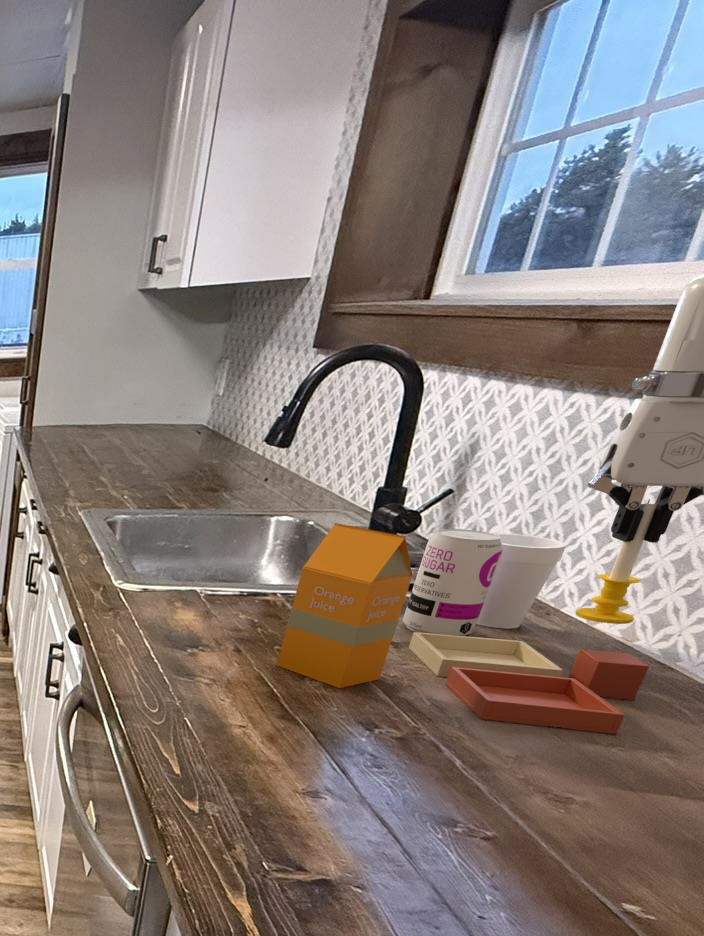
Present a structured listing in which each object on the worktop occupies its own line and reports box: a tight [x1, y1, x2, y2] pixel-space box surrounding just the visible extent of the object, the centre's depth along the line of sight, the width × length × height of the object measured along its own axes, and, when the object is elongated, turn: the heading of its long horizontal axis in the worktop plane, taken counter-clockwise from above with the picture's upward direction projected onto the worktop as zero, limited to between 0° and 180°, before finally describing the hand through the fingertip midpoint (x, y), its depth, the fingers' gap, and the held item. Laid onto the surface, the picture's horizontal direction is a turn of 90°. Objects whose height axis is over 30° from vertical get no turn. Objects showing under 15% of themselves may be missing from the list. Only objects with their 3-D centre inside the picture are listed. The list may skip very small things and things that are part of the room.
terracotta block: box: [567, 648, 650, 701], centre depth 104 cm, size 5×5×5 cm
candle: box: [574, 498, 657, 625], centre depth 105 cm, size 5×5×16 cm
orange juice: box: [276, 522, 413, 689], centre depth 110 cm, size 8×9×20 cm
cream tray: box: [408, 631, 564, 678], centre depth 113 cm, size 12×11×2 cm
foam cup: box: [476, 532, 567, 630], centre depth 126 cm, size 10×9×13 cm
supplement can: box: [402, 528, 503, 636], centre depth 123 cm, size 8×8×15 cm
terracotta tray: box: [444, 667, 626, 735], centre depth 101 cm, size 12×11×2 cm
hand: (634, 538), depth 104 cm, fingers closed on candle
